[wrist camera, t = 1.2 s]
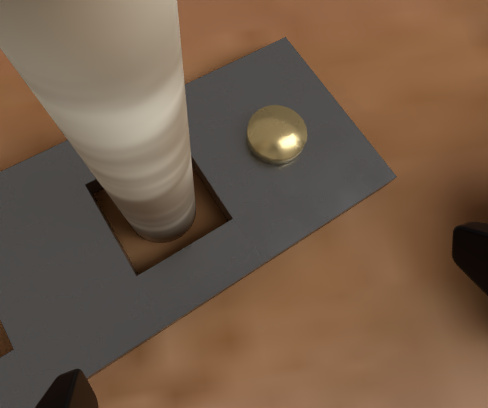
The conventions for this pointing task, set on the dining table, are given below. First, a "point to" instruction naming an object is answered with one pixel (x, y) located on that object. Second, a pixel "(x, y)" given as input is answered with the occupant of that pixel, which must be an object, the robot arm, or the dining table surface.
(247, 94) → the steel plate
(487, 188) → the dining table surface
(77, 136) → the birch peg
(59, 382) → the robot arm
